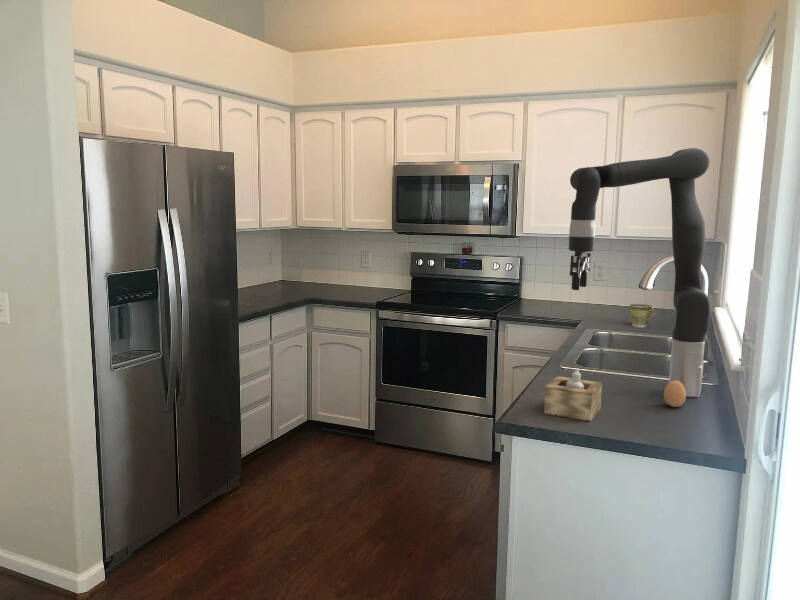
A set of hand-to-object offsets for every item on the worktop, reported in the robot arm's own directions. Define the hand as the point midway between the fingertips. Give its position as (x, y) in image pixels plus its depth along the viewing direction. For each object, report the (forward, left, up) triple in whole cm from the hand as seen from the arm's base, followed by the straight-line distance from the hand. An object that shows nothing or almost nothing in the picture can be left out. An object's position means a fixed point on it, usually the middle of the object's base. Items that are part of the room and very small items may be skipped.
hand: (579, 288), depth 198 cm
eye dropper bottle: (-4, +18, -33) cm, 38 cm away
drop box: (-4, +18, -33) cm, 38 cm away
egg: (-29, -2, -33) cm, 44 cm away
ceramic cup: (0, -122, -33) cm, 126 cm away
